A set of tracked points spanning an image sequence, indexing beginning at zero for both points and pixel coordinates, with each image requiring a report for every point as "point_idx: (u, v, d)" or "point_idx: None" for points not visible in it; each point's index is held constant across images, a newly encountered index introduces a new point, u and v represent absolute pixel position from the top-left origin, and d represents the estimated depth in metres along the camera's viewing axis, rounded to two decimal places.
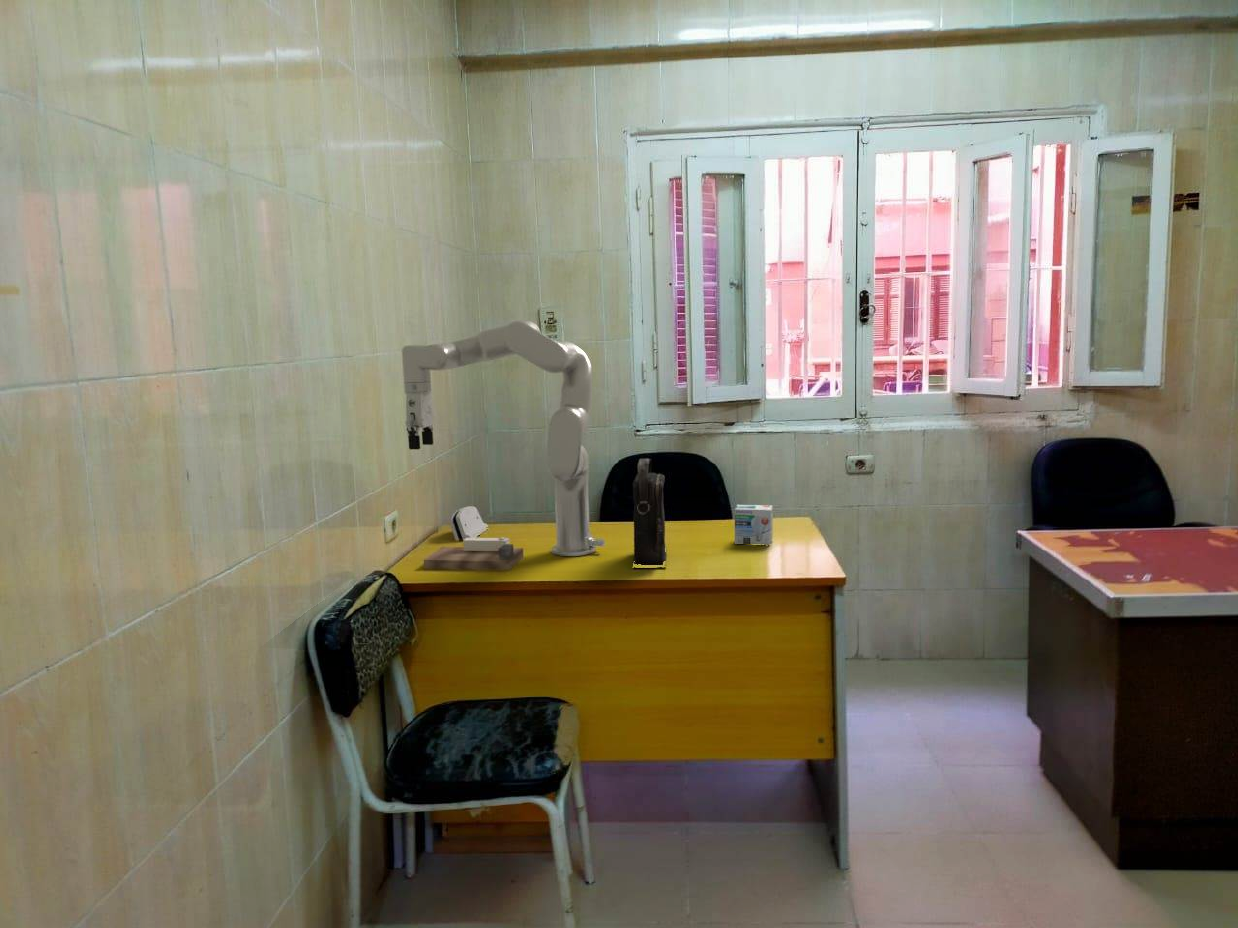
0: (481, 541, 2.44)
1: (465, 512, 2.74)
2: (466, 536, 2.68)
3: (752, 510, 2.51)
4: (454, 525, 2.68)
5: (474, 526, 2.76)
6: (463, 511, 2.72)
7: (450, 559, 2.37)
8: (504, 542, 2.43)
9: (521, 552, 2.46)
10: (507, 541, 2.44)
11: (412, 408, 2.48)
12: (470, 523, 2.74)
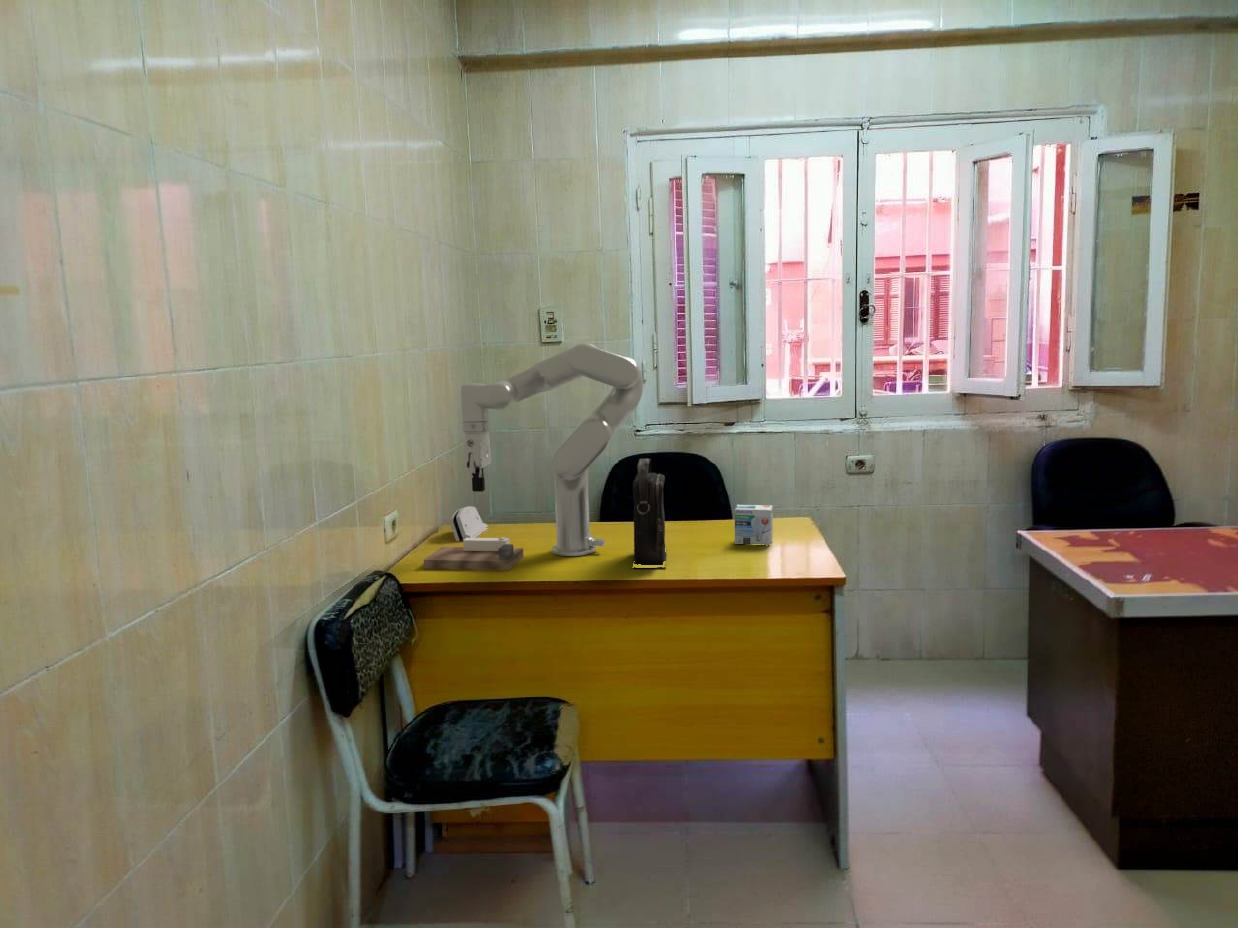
0: (481, 541, 2.44)
1: (465, 512, 2.73)
2: (466, 536, 2.68)
3: (752, 510, 2.51)
4: (454, 525, 2.68)
5: (474, 526, 2.76)
6: (463, 511, 2.72)
7: (450, 559, 2.37)
8: (504, 542, 2.43)
9: (521, 552, 2.46)
10: (507, 541, 2.44)
11: (471, 448, 2.43)
12: (470, 523, 2.74)
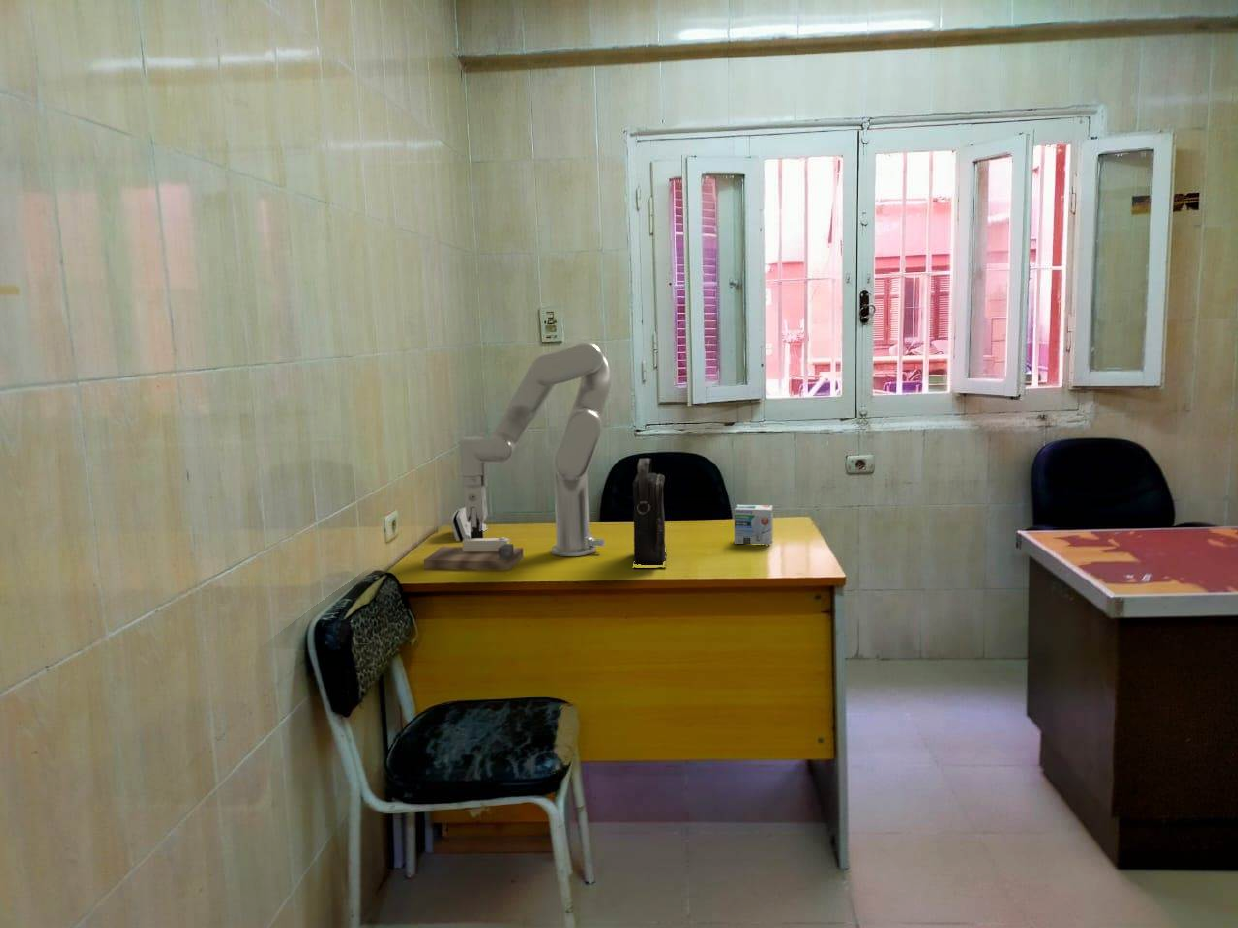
0: (481, 541, 2.44)
1: (465, 512, 2.73)
2: (467, 536, 2.67)
3: (752, 510, 2.51)
4: (455, 525, 2.68)
5: None
6: (463, 511, 2.72)
7: (450, 559, 2.37)
8: (504, 542, 2.43)
9: (521, 552, 2.46)
10: (507, 541, 2.44)
11: (473, 502, 2.42)
12: (470, 523, 2.74)
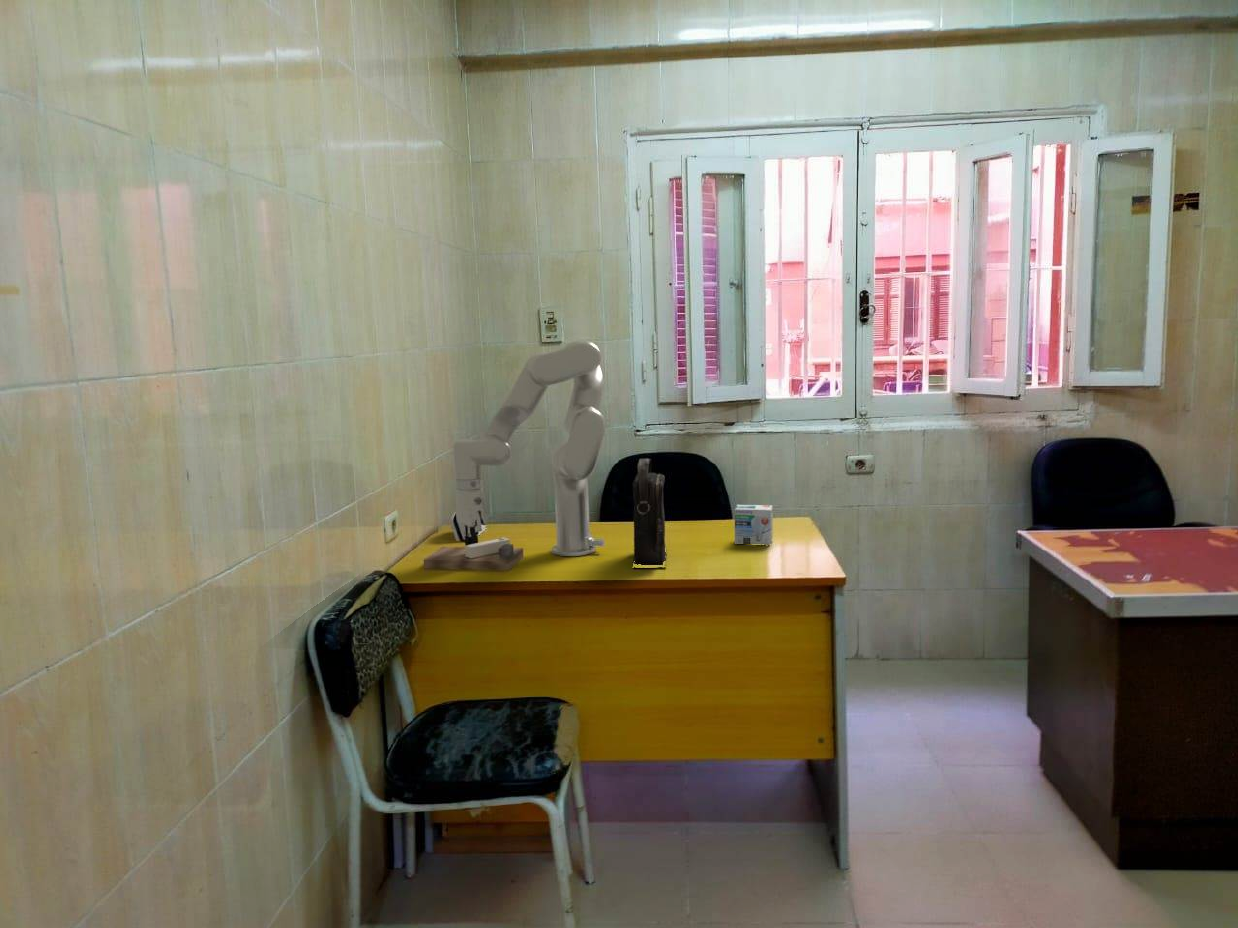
0: (487, 544, 2.40)
1: None
2: None
3: (752, 510, 2.51)
4: (454, 525, 2.68)
5: None
6: None
7: (450, 559, 2.37)
8: (508, 541, 2.44)
9: (521, 552, 2.46)
10: None
11: (478, 506, 2.37)
12: None
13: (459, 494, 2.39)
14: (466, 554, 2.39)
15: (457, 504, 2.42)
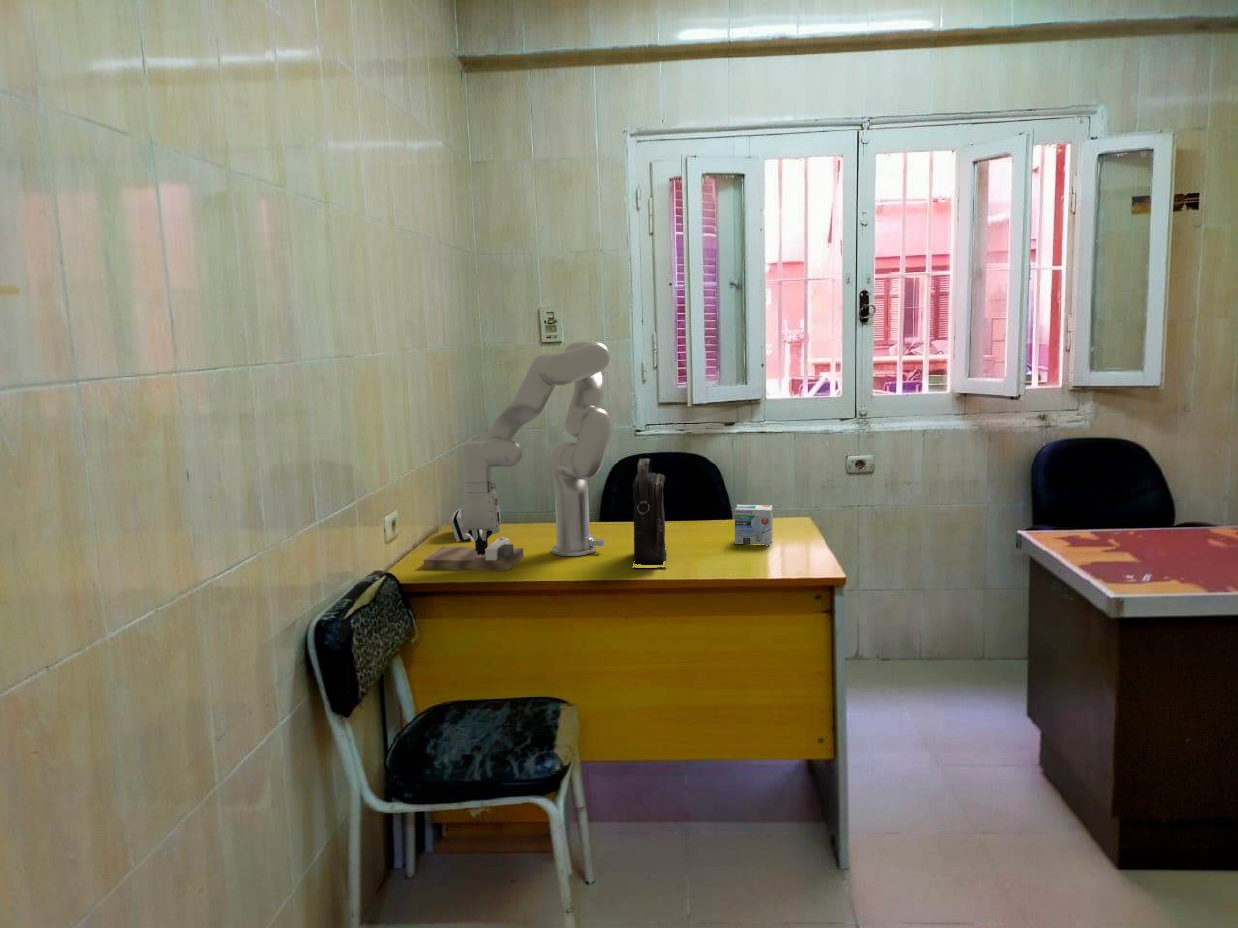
0: (501, 545, 2.39)
1: None
2: (467, 536, 2.67)
3: (752, 510, 2.51)
4: (455, 526, 2.68)
5: None
6: None
7: (450, 559, 2.37)
8: (508, 540, 2.46)
9: (521, 552, 2.46)
10: None
11: (497, 507, 2.35)
12: None
13: (473, 498, 2.33)
14: (487, 558, 2.34)
15: (466, 509, 2.34)
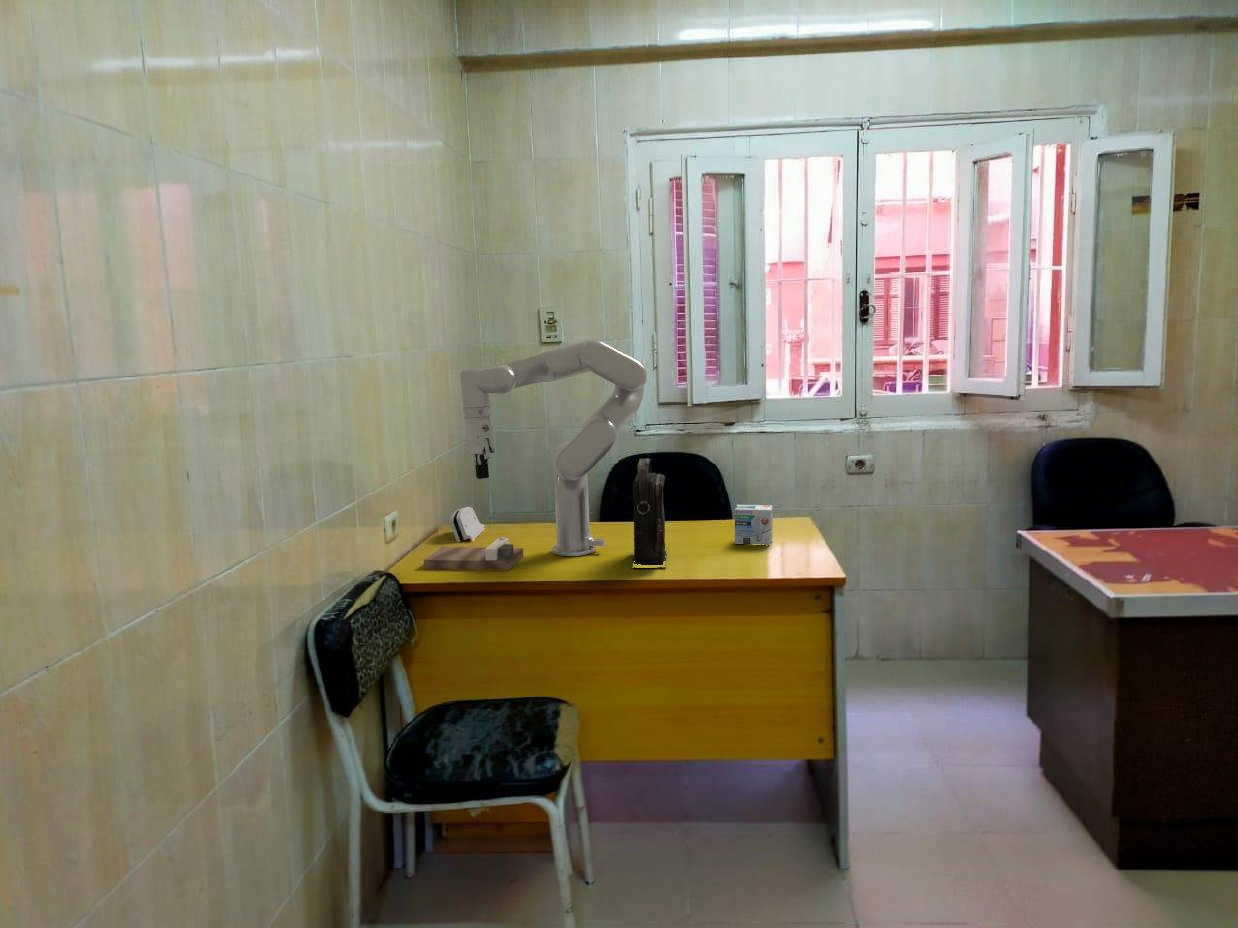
0: (501, 545, 2.39)
1: (464, 512, 2.73)
2: (467, 537, 2.67)
3: (752, 510, 2.51)
4: (455, 526, 2.67)
5: (473, 527, 2.75)
6: (462, 512, 2.71)
7: (450, 559, 2.37)
8: (508, 540, 2.46)
9: (521, 552, 2.46)
10: None
11: (486, 433, 2.40)
12: (469, 524, 2.73)
13: (468, 423, 2.43)
14: (487, 558, 2.34)
15: (467, 433, 2.45)
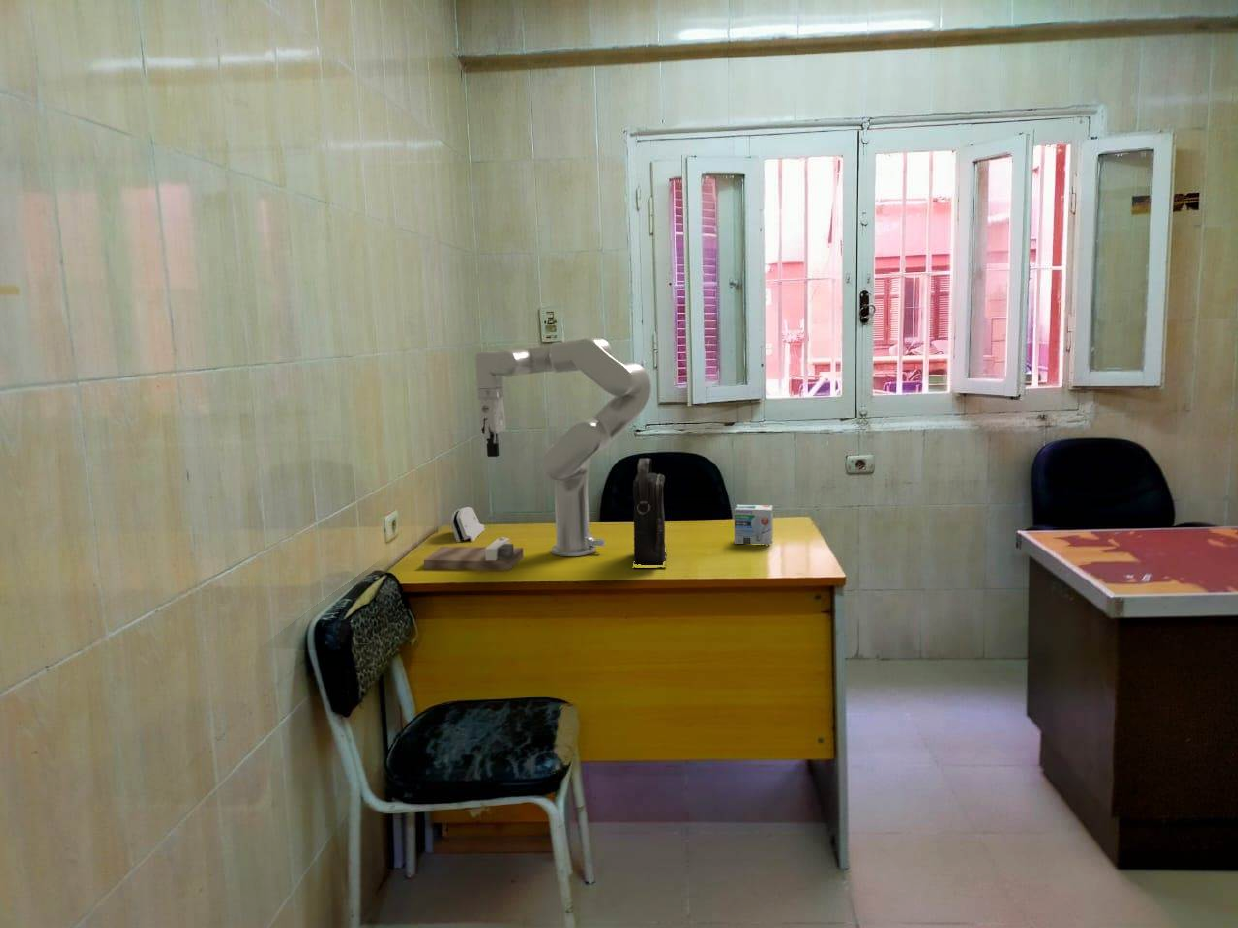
0: (501, 545, 2.39)
1: (464, 513, 2.72)
2: (467, 537, 2.67)
3: (752, 510, 2.51)
4: (455, 526, 2.67)
5: (473, 527, 2.75)
6: (462, 512, 2.71)
7: (450, 559, 2.37)
8: (508, 540, 2.46)
9: (521, 552, 2.46)
10: None
11: (486, 414, 2.49)
12: (469, 524, 2.73)
13: None
14: (487, 558, 2.34)
15: None
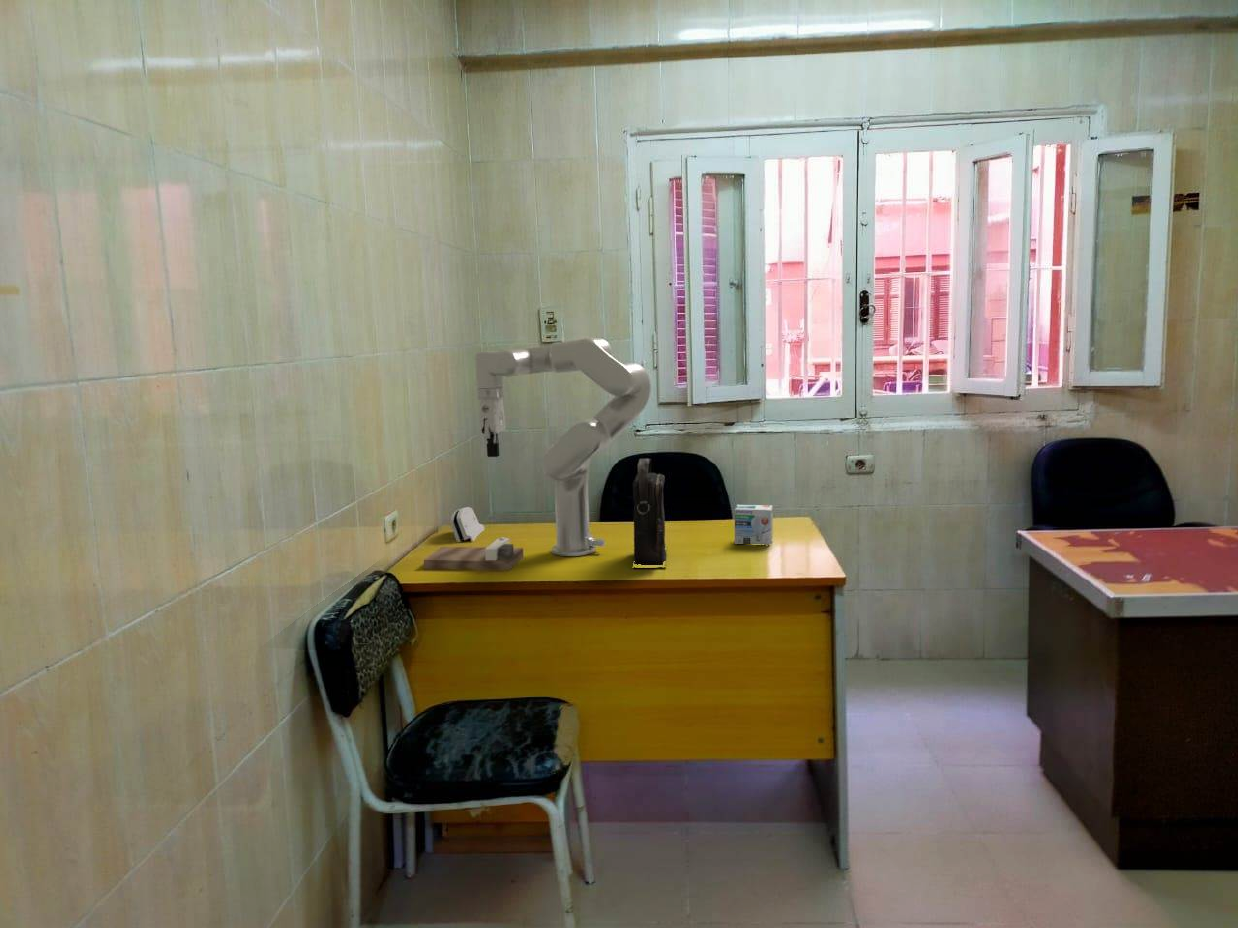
0: (501, 545, 2.39)
1: (464, 513, 2.72)
2: (468, 537, 2.67)
3: (752, 510, 2.51)
4: (455, 526, 2.67)
5: (472, 527, 2.75)
6: (462, 512, 2.71)
7: (450, 559, 2.37)
8: (508, 540, 2.46)
9: (521, 552, 2.46)
10: None
11: (486, 414, 2.49)
12: (469, 524, 2.73)
13: None
14: (487, 558, 2.34)
15: None
